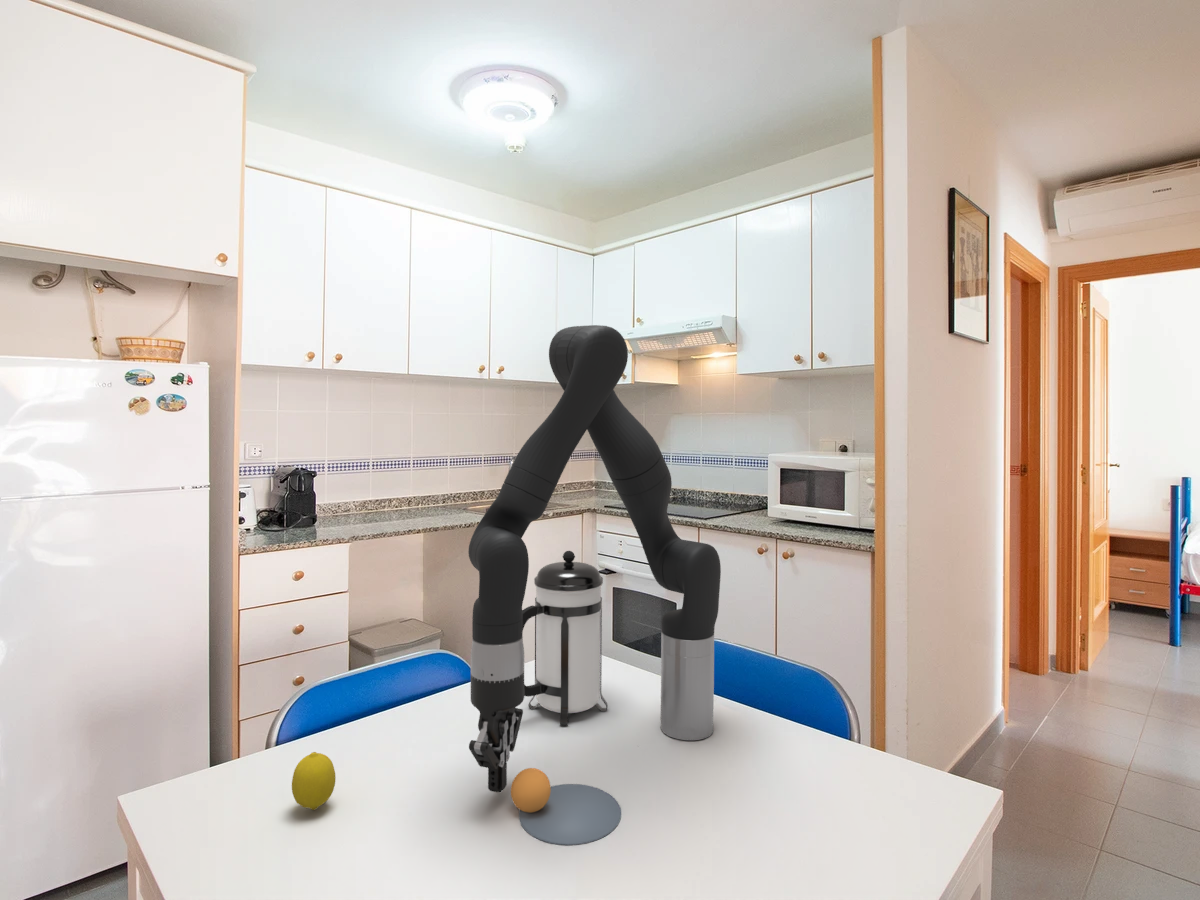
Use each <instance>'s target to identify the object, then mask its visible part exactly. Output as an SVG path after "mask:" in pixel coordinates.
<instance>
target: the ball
mask: <svg viewBox="0 0 1200 900" xmlns="http://www.w3.org/2000/svg"><path fill="white" fill-rule="evenodd" d="M550 792H551V782H550V779H549V777H548V776H547V775H546V773H545V772H543V771H542V770H541V769H538V768H535V767H528V768H525V769H523V770H521V771H519V772H518V773H517V774H516V776H514V778H513V779H512V782H511V787H510V797H511V799H512V802H513V804H514V806H515V807H516V808H517V809H518V810H519V811H520V810H521V811H524V812H528V813H532V812H536V811H538V810H540V809H542V808H543V807H544V806H545V804H546V803H547V801H548V799H549V797H550Z"/></svg>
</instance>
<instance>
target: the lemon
mask: <svg viewBox="0 0 1200 900" xmlns="http://www.w3.org/2000/svg"><path fill="white" fill-rule="evenodd" d="M332 761H333V760H331V758H330V757H328V756H327V755H326V754H323V753H321V752H316V751H313V752H311V753H310V754H308V755H306V756H304V757H303V758H302V759H301V760H300V761H299V762H298V763H297V765H296V766H295V768H294V770H293V774H292V779H291V780H292V781H291V792H292V795H293V798H294V800H295V802H296V803H297V804H298V805H299V806H300V807H302V808H305V809H310V810H312V811H315V810H317V809H318V808H319V807H321V806H323V804H325V803H326V802H327V801H328V800H329V799H330V797H331V796H332V795H333V793H334V791H335V790H334V789H335V786H336V771H335V770H336V769H335V766H334V764H333V762H332Z"/></svg>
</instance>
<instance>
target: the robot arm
mask: <svg viewBox="0 0 1200 900" xmlns="http://www.w3.org/2000/svg"><path fill="white" fill-rule="evenodd" d="M628 357H629V352H628V346H627V343H626V340H625V337H624V336H623V335H622V334H621V332H619V331H618V330H617V329H615V328H613V327H611V326H607V325H600V324H598V325H597V324H596V325H594V324H593V325H592V324H591V325H574V326H569V327H564V328H562V329H560V330H558V331H557V332H556V333H555V334H554V336H553V337H552V339H551V341H550V343H549V349H548V359H549V361H548V362H549V365H550V368H551V371H552V373H553V375H554V377H555V379H556V380H557V383H559V385H560V387H561V389H563V393H562V395H561V397H560V399H559V400H558V401H557V403H556V405H555V407H553V409H552V410H551V412H550V413H549V415H548V416H547V417H546V418H545V419H544V421H543V422H541V424H540V425H539V426H538V427H537V428H536V430H534V432H533V433H532V434H531V435H530V437H528V438H527V440H526V441H525V442H524V444H523V445H522V447H521V448H520V449H519V452H518V453H517V454H516V457H515V459H514V460H513V463H512V464H511V466H510V468H509V470H508V473H507V475H506V477H505V479H504V481H503V483H502V484H501V488H500V490H499V493H498V495H497V496H496V498H495V499H494V501H493V502H492V503H491V504H490V506H489V508H488V509H487V511H486V512H485V514H484V515H483V516H482V518H481V519H480V521H479V523H478V524H477V526H476V528H475V530H474V531H473V534H472V536H471V538H470V541H469V543H468V544H469V545H468V558H469V560H470V563H471V565H472V566H473V567H474V569H476V570H477V571H478V574H479V575H478V576H479V583H478V597H477V598H476V599H475V601H474V603H473V606H472V607H473V608H472V621H471V622H472V623H471V624H472V627H471V629H472V632H471V633H472V635H471V637H472V642H471V647H470V648H471V650H470V702H471V704H472V706H473V707H474V708H476V709H477V710H478V711H479V717H478V723H477V728H478V731H479V732H478V733H479V734H478V736H477V739H476V740H474V739H472V740H470V741H469V743H468V749H469V751H470V753H471V754H472V756H473V758H474V759H475V761H476V763H477V764H478V766H479V767H481V768H486V769H487V771H488V773H487V788H488V790H489V791H490V792H494V793H495V792H496V793H502V792H503V791H504V789H505V788H506V787H507V785H508V783H507V782H508V780H507V779H508V778H507V777H508V775H507V773H508V772H507V771H508V770H507V769H508V767H507V766H508V765H507V763H508V762H509V761H510V757H511V756H510V753H511V752H514V751H515V747H516V743H517V738H518V734H519V730H520V726H521V722H522V718H523V714H524V709H523V708H518V706H520V705H521V704H522V703H523V702H524V699H525V696H524V684H525V646H524V640H523V638H524V636H523V635H524V634H523V633H524V628H523V618H522V617H523V614H522V610H523V603H524V599H525V595H526V588H527V584H528V583H527V582H528V579H529V578H528V576H529V567H530V564H529V559H530V558H529V552H528V547H527V546H526V543H525V542H524V539H522V538H523V536H524V534H525V533H526V531H527V529H528V527H529V526H530V525H531V523H532V522H533V521H537V520H538V519H540V518H541V517H542V515H543V514H544V512H545V511H546V509H547V507H548V505H549V503H550V500H551V498H552V496H553V494H554V491H555V489H556V487H557V485H558V483H559V481H560V478H561V476H562V474H563V473H564V471H565V469H566V466H567V464H568V463H569V461H570V458H571V456H573V455H572V454H573V453H574V451H575V449H576V448H577V446H578V444H579V443H580V442H581V440H582V438H583V437H584V435H585V433H586V432H587V433H588V434H589V437H590V439H591V440H592V443H593V445H594V447H595V450H597V453H598V455H599V456H600V458H601V461H602V462H603V464H604V467H605V469H606V472H607V474H608V476H609V478H610V480H611V482H612V484H613V486H614V488H615V490H616V492H617V493H618V496H619V497H620V499H621V501H622V503H623V506H624V507H625V510H626V511H627V514H628V515H629V519H630V521H631V523H632V524H633V526H634V529H635V531H636V532H637V536H638V538H639V541H640V543H641V545H642V548H643V552H644V554H645V558H646V560H647V563H648V566H649V569H650V571H651V574H652V576H653V577H654V580H655V581H656V582H657V584H658V585H659V586H660V587H662V588H664V589H666V590H667V591H671V592H676V593H679V594H683V598H682V599H683V600H682V607H681V608H679V609H673V610H670V611H667V612H665V613H664V614H663V616H662V617H661V621H660V622H661V625H660V626H661V631H660V632H661V633H660V635H661V637H660V638H661V639H660V643H661V645H660V649H661V650H660V651H661V652H660V730H661V731H662V732H663V733H664V734H665V735H667V736H668V737H671V738H673V739H675V740H676V739H677V740H681V741H699V740H703V739H707V738H709V737H710V736H712V734H713V732H714V707H715V706H714V701H715V700H714V699H715V698H714V697H715V695H714V693H715V692H714V691H715V689H714V688H715V625H716V622H717V619H718V616H719V606H720V605H719V603H720V589H721V574H722V573H721V571H722V568H721V559H720V555H719V553H718V551H717V549H716V548H715V547H714V546H713V545H711V544H709V543H705V542H699V541H693V540H687V539H686V540H685V539H682V538H680V537H679V536H678V534H677V533H676V531H675V529H674V527H673V525H672V523H671V521H670V519H669V515H668V508H669V506H668V505H669V503H670V497H671V493H672V487H673V485H672V483H673V482H672V475H671V472H670V469H669V467H668V465H667V463H666V460H665V458H664V455H663V453H662V452H661V449H660V446H659V445H658V443H657V442H656V440H655V439H654V437H653V436H652V435H651V434H650V432H649V431H648V430H647V429H646V428H645V426H644V425H643V424H642V423H641V422H640V421H639V420H638V419H637V418H636V417H635V416H634V415H633V413H631V412H630V410H629V409H628V408H626V406H625V405H624V404H623V403H622V401H621V400H620V398H619V397H618V395H617V393H616V391H615V388H616V386H617V384H618V382H620V380H621V378H622V376H623V375H624V372H625V370H626V367H627V364H628V360H629V359H628Z"/></svg>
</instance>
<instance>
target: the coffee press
mask: <svg viewBox="0 0 1200 900" xmlns="http://www.w3.org/2000/svg"><path fill="white" fill-rule="evenodd" d="M575 558H576V556H575V553H574V552H573V551H572V550H566V551H565V552H563V555H562V559H563V561H559V562H557V561H556V562H554V563H553V562H552V563H549V564H546V565H544V566H543V567H541V568H540V569H539V571H538V572H537V574H536V576H535V577H534V579H533V580H534V581H533V582H534V585H535V587H536V588H535V589H536V590H535V591H536V592H535V593H536V595H535V596H536V597H534V605H530V606H527V607H525V608H523V609H522V614H523V617H522V618H523V629H524V628H525V625H526V623H528V621H529V620H530V619H532V618H534V684H530V685H526V684H525V683H524V697H532V698H531V699H530V700H529V702H528V709H530V710H531V711H533V710H535V709H537V708H538V707H539V706H541V707H542V708H544V709H546V710H548V711H551V712H554V713H558V714H559V713H560V715H559V726H561V727H562V726H563V727H564V726H566V727H568V726H569V716H570V714H574V713H575V714H576V713H580V712H581V713H582V712H585V711H587V710H589V709H592V708H593V707H596V708H597V709H598V710H599V711H600V712H602V713H605V712H606V711H607V710H608V705H609V704H608V702H607V700H606V699H605V698H604V696H603V693H602V692H603V691H602V676H603V675H602V665H603V664H602V654H603V653H602V650H603V649H602V648H603V646H602V644H603V642H602V641H603V640H602V639H603V636H602V635H603V634H602V633H603V632H602V631H603V625H602V623H603V597H602V596H601V595H602V594H601V593H602V585H603V584H604V583H603V582H604V578H603V576H601V574H600V571H599V570H598V568H596V567H595V566H593V565H591V564H589V563H586V562H581V561H574V560H575ZM535 697H536V700H537V703H536V704H535V705H532V704H531V702H533V700H534V699H535ZM600 699H601V701H602V702H603V704H604V705H605V707H602V706H601V705H600V704H599V703H598V702H599V701H600Z"/></svg>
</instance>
